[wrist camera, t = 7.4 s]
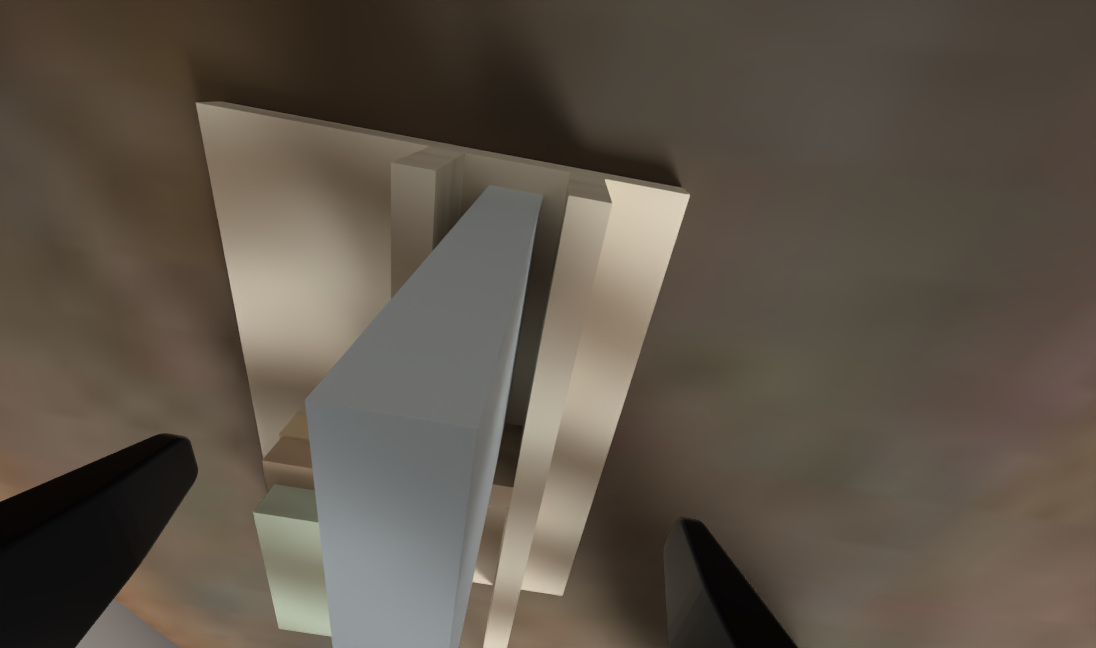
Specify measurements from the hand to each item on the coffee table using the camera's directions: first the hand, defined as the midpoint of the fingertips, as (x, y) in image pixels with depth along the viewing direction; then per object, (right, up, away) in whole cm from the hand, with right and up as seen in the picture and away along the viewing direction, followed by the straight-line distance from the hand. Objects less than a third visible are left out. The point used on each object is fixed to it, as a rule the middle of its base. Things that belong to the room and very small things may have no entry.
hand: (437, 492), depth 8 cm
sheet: (0, +4, +7) cm, 8 cm away
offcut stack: (-7, -5, +11) cm, 14 cm away
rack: (-2, 0, +10) cm, 10 cm away
